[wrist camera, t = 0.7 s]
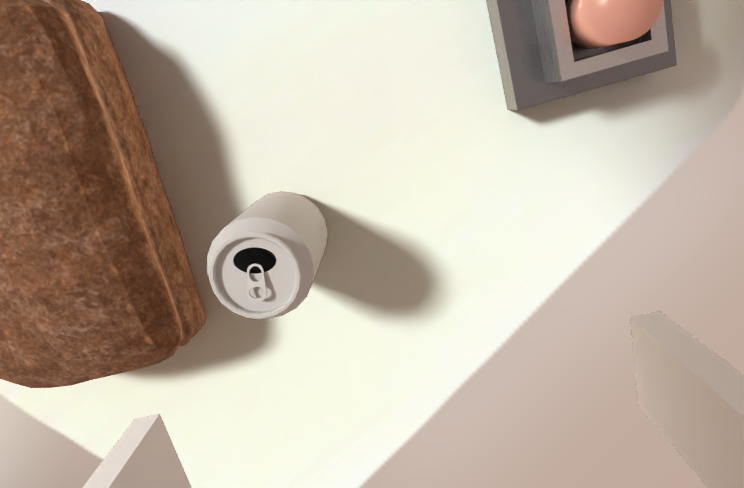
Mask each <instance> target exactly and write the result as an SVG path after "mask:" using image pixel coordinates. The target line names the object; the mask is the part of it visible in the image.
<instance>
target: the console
mask: <svg viewBox="0 0 744 488" xmlns="http://www.w3.org/2000/svg"><path fill="white" fill-rule="evenodd" d="M486 1H487V6H488V11H489V16H490V22H491V27H492V32H493V37H494V42H495V47H496V52H497V57H498V63H499V68H500V73H501V78H502V83H503V88H504V93H505V98H506V103H507V109H508V110H520V109H524V108H527V107H531V106H534V105H538V104H541V103H545V102H549V101H552V100H556V99H559V98H563V97H566V96H570V95H573V94H577V93H580V92H584V91H587V90H591V89H594V88H598V87H601V86H605V85H608V84H612V83H616V82H619V81H623V80H626V79H630V78H633V77H637V76H640V75H644V74H647V73H651V72H654V71H658V70H661V69H665V68H668V67H672V66H675V65H676V54H675V44H674V34H673V24H672V14H671V3H670V0H663V5H662V9H661V12H660V14H659V16H658V18H657V20H656V22H655V23H654V25H653V26H652V27H651V28H650V29H649V30H648V31H647V32H646V33H645V34H643V35H642V36H640V37H638V38H636V39H634V40H631V41H627V42H622V43H618V44H614V45H610V46H605V47H601V48H597V49H586V48H582V47H579V46H578V45H576V44H575V43H573V42H572V41H571V38H570V32H569V25H568V19H567V12H566V4H567V2H568V0H486Z"/></svg>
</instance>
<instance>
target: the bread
mask: <svg viewBox="0 0 744 488" xmlns="http://www.w3.org/2000/svg"><path fill="white" fill-rule="evenodd" d="M205 322H206V320H205V315H204V311H203V307H202V305H201V302H200V299H199V296H198V293H197V290H196V287H195V283H194V280H193V276H192V273H191V269H190V266H189V262H188V259H187V255H186V252H185V249H184V246H183V243H182V240H181V237H180V234H179V231H178V228H177V225H176V223H175V220H174V217H173V214H172V211H171V208H170V205H169V203H168V200H167V197H166V194H165V191H164V189H163V186H162V183H161V180H160V178H159V175H158V171H157V168H156V164H155V161H154V158H153V154H152V151H151V147H150V144H149V141H148V138H147V134H146V131H145V128H144V126H143V123H142V121H141V118H140V115H139V113H138V110H137V108H136V105H135V102H134V99H133V97H132V94H131V91H130V88H129V85H128V82H127V80H126V77H125V75H124V72H123V69H122V67H121V64H120V62H119V59H118V57H117V54H116V52H115V50H114V47H113V45H112V42H111V40H110V37H109V34H108V32H107V29H106V26H105V24H104V21H103V19H102V16H101V15H100V14H99V13H98V12H97V11H96V10H95V9H94V8H93V7H92V6H91V5H90V4H89V3H86V2H84V1H81V0H0V379H3V380H6V381H9V382H12V383H16V384H19V385H23V386H26V387H30V388H51V387H60V386H69V385H74V384H78V383H81V382H85V381H89V380H93V379H97V378H101V377H106V376H110V375H115V374H119V373H123V372H127V371H131V370H135V369H139V368H143V367H147V366H150V365H154V364H157V363H160V362H161V361H163V360H165V359H167V358H169V357H170V356H172V355H173V354H174V353H175V351H176V350H177V348H178V346H182V345H185V344H187V343H188V342H189V341H190V339H191V338H192V337H193V336H194V335H195V334H196V333H197V332H198V331H199V329H200V328H201V327H202V326H203V325H204V323H205Z"/></svg>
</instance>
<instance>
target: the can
mask: <svg viewBox="0 0 744 488" xmlns="http://www.w3.org/2000/svg"><path fill="white" fill-rule="evenodd" d="M327 237H328V230H327V226H326V222H325V218H324V217H323V215H322V213H321V212H320V210H319V209H318V207H317V206H316V205H314V204H313V203H312V202H311V201H310V200H309V199H307V198H305V197H303V196H301V195H298V194H296V193H292V192H282V191H280V192H276V193H271V194H267V195H266V196H264V197H262V198H261V199H259V200H257V201H256V202H255V203H253V204H252V205H251V206H250V207H249V208H247V209H246V210H245V211H244V212H242V213H241V214H240V215H239V216H238V217H236V218H235V219H234V220H233V221H232V222H230V223H229V224H228V225H227V226H226V227H224V228H223V229H222V230H221V231H220V233H219V234H218V235H217V236H216V237H215V239H214V240H213V241H212V244H211V247H210V249H209V252H208V255H207V273H208V276H209V281H210V284H211V287H212V290H213V292H214V294H215V295H216V296H217V298H218V299H219V301H220V302H221V303H222V304H223V305H224V306H225V307H227V308H228V309H229V310H231V311H232V312H233V313H236V314H238V315H241V316H243V317H246V318H252V319H265V318H266V319H267V318H272V317H277V316H282V315H284V314H286V313H288V312H290V311H292V310H293V309H295V308H297V307H298V305H299V304H300V303H301V302H302V301H303V300H304V299H305V298H306V297H307V295H308V292H309V290H310V288H311V285H312V283H313V281H314V278H315V275H316V272H317V270H318V267H319V264H320V261H321V259H322V256H323V253H324V251H325V248H326V245H327Z"/></svg>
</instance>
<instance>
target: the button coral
mask: <svg viewBox="0 0 744 488" xmlns="http://www.w3.org/2000/svg"><path fill="white" fill-rule="evenodd" d="M662 5H663V0H568V2H567V4H566V12H567V19H568V25H569V32H570V38H571V41H572V42H573V43H575V44H576V45H578V46H579V47H582V48H586V49H597V48H601V47H605V46H610V45H614V44H618V43H622V42H627V41H631V40H634V39H636V38H638V37H640V36H642V35H643V34H645V33H646V32H647V31H648V30H649V29H650V28H651V27H652V26H653V25H654V23H655V22H656V20H657V18H658V16H659V14H660V12H661V9H662Z"/></svg>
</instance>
